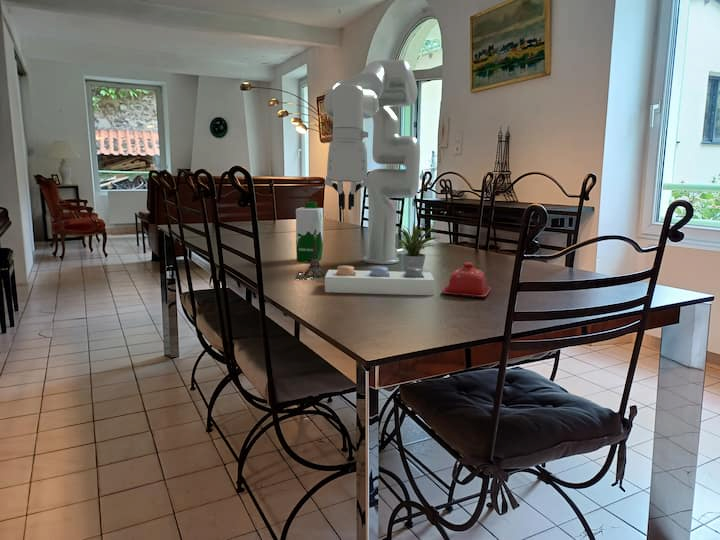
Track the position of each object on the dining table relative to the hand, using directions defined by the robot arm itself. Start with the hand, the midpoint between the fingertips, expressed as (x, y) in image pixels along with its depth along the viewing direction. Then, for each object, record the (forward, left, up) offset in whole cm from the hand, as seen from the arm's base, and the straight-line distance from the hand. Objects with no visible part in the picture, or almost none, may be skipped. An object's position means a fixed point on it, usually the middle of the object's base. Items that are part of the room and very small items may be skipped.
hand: (346, 209), depth 135 cm
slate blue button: (-6, +6, -19) cm, 21 cm away
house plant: (-27, -1, -21) cm, 35 cm away
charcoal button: (-13, +13, -19) cm, 26 cm away
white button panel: (-6, +6, -21) cm, 23 cm away
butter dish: (-22, +24, -22) cm, 39 cm away
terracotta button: (0, 0, -19) cm, 19 cm away
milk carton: (-18, -40, -21) cm, 49 cm away
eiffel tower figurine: (-3, -18, -22) cm, 28 cm away
